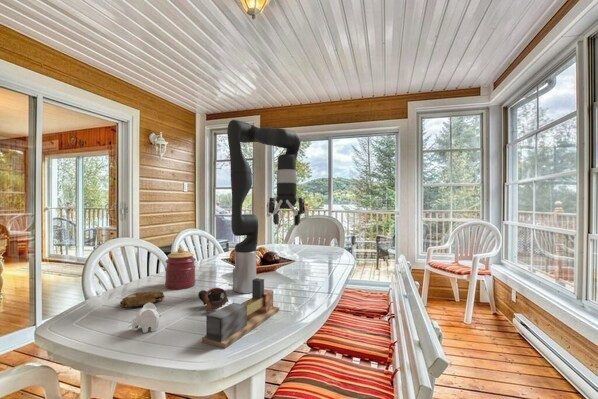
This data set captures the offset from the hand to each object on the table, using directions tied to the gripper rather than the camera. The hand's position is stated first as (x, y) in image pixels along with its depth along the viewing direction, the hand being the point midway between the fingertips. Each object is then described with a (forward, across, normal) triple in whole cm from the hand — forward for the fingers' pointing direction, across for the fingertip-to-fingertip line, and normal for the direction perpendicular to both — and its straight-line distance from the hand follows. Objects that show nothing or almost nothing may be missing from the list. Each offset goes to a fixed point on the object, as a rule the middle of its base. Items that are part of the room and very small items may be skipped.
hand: (286, 224), depth 113 cm
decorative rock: (+31, -50, -22) cm, 63 cm away
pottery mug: (+30, -22, -15) cm, 41 cm away
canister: (+30, -55, +1) cm, 63 cm away
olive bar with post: (+27, -3, -19) cm, 33 cm away
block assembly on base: (+30, -3, -22) cm, 37 cm away
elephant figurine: (+30, -28, -38) cm, 56 cm away
